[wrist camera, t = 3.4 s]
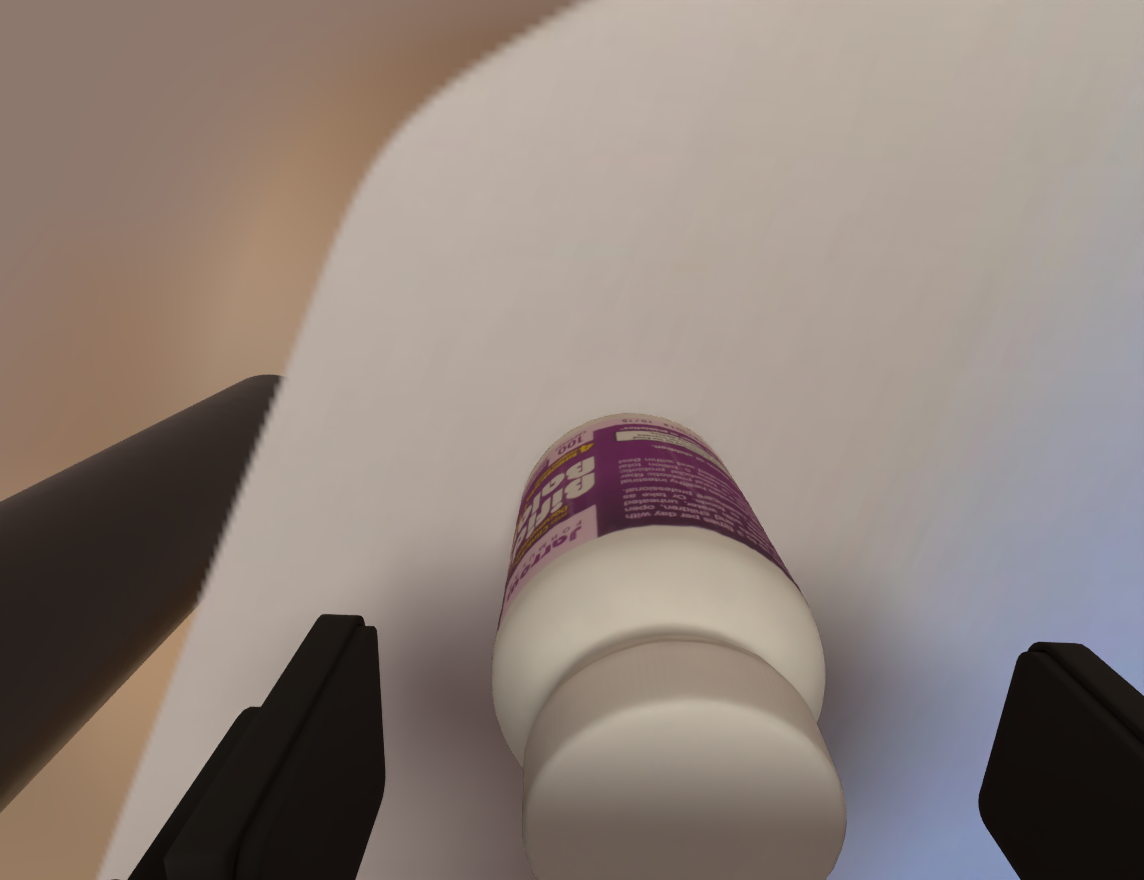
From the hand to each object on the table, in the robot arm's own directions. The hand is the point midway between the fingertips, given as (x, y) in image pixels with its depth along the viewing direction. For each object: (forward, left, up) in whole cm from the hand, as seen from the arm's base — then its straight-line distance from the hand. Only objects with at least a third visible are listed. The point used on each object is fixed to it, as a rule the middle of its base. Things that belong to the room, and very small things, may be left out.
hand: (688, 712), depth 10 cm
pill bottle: (0, 0, -8) cm, 8 cm away
